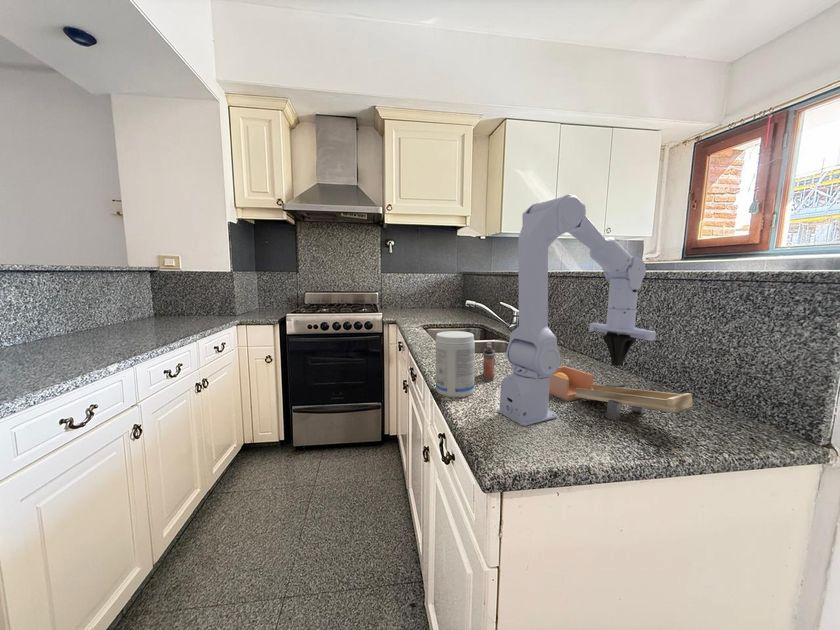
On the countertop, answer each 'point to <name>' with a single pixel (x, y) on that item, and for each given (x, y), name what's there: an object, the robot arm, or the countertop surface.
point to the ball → (561, 375)
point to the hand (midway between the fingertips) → (617, 364)
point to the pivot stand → (619, 410)
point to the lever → (637, 397)
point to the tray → (569, 383)
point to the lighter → (488, 362)
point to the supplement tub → (455, 363)
